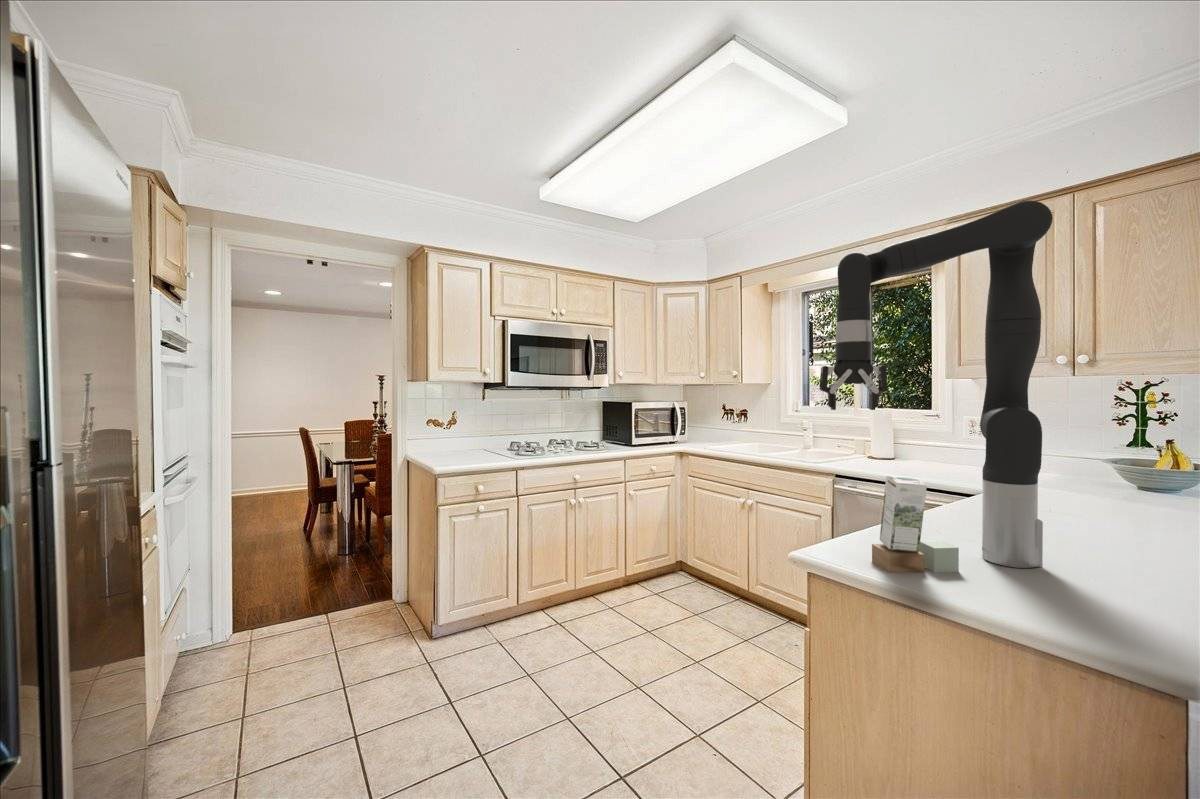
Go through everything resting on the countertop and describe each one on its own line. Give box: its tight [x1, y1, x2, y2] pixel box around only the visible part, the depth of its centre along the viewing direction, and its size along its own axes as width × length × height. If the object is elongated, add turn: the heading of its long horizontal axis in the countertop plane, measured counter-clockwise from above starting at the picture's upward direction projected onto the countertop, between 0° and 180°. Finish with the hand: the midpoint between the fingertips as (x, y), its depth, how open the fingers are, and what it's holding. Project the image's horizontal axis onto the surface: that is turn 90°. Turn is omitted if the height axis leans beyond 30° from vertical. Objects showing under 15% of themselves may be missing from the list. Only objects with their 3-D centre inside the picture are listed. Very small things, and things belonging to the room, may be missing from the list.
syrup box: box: [879, 475, 928, 552], centre depth 107 cm, size 6×6×14 cm
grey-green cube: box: [919, 540, 960, 573], centre depth 106 cm, size 5×5×5 cm
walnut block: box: [871, 543, 926, 574], centre depth 107 cm, size 7×7×4 cm
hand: (852, 409), depth 121 cm, fingers open, 8 cm apart
